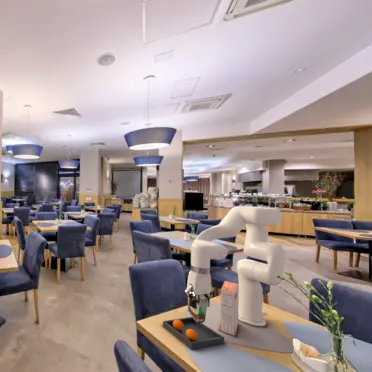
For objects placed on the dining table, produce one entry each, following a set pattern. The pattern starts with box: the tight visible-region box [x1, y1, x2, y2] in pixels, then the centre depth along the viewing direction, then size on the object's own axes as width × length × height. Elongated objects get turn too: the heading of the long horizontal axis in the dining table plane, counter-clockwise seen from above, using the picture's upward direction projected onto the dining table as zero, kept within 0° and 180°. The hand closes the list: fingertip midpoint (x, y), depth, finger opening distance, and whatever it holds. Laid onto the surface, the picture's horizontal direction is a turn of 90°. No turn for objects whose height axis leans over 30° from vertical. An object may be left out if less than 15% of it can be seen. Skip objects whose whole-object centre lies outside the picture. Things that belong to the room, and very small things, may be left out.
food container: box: [187, 291, 210, 324], centre depth 110 cm, size 12×6×10 cm, turn 171°
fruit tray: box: [162, 316, 225, 350], centre depth 109 cm, size 18×17×3 cm
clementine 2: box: [186, 329, 198, 341], centre depth 104 cm, size 5×5×5 cm
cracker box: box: [220, 280, 239, 337], centre depth 115 cm, size 14×6×21 cm, turn 134°
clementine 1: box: [173, 319, 184, 331], centre depth 112 cm, size 5×5×5 cm
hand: (199, 306), depth 110 cm, fingers closed on food container, 7 cm apart
